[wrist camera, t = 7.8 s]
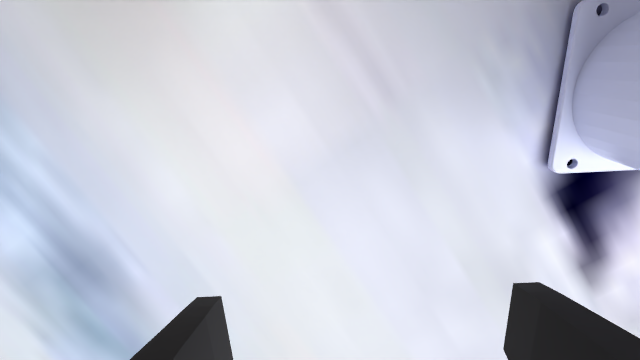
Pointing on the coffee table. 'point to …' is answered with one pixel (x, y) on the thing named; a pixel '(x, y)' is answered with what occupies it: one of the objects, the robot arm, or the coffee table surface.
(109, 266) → the coffee table surface
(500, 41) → the coffee table surface
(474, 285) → the coffee table surface
